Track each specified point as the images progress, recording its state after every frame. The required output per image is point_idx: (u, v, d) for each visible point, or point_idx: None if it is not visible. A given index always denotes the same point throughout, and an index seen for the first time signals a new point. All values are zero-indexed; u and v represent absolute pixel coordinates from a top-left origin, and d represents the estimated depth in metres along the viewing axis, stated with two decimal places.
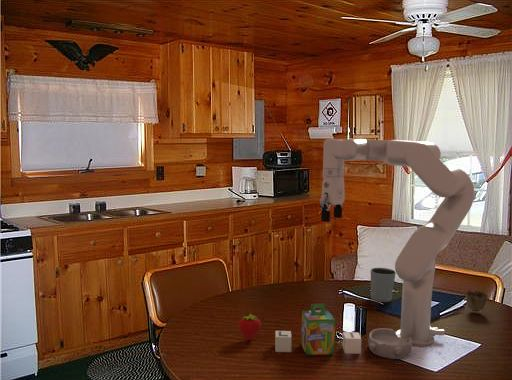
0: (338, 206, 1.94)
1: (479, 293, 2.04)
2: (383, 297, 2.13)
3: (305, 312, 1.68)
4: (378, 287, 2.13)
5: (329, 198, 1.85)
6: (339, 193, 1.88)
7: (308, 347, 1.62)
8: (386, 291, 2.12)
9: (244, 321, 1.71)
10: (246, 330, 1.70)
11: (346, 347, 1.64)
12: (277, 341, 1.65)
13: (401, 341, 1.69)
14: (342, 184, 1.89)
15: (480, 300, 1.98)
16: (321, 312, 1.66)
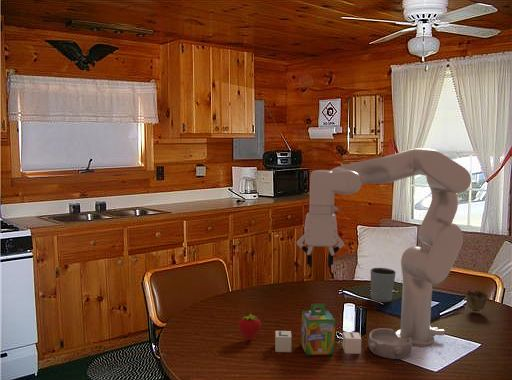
0: None
1: (479, 293, 2.04)
2: (383, 297, 2.13)
3: (305, 312, 1.68)
4: (378, 287, 2.13)
5: None
6: None
7: (308, 347, 1.62)
8: (386, 291, 2.12)
9: (244, 321, 1.71)
10: (246, 330, 1.70)
11: (346, 347, 1.64)
12: (277, 341, 1.65)
13: (401, 341, 1.69)
14: None
15: (480, 300, 1.98)
16: (321, 312, 1.66)
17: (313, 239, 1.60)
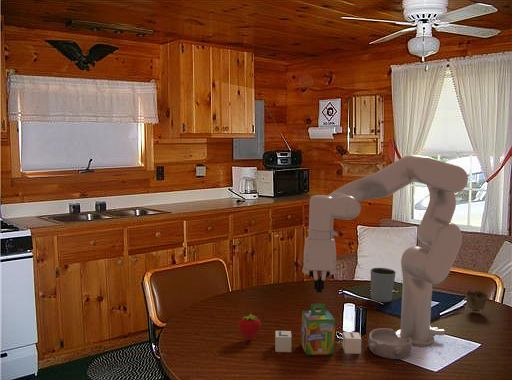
0: None
1: (479, 293, 2.04)
2: (383, 297, 2.13)
3: (305, 312, 1.68)
4: (378, 287, 2.13)
5: None
6: None
7: (308, 347, 1.62)
8: (386, 291, 2.12)
9: (244, 321, 1.71)
10: (246, 330, 1.70)
11: (346, 347, 1.64)
12: (277, 341, 1.65)
13: (401, 341, 1.69)
14: None
15: (480, 300, 1.98)
16: (321, 312, 1.66)
17: (312, 264, 1.61)
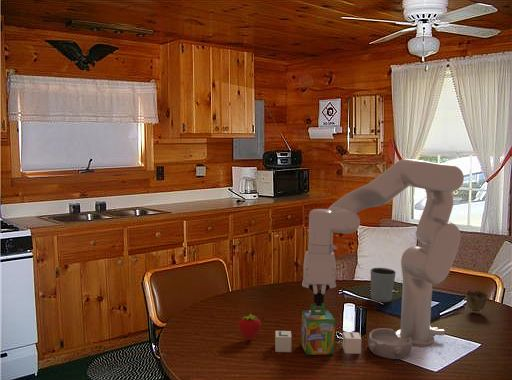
0: None
1: (479, 293, 2.04)
2: (383, 297, 2.13)
3: (305, 312, 1.68)
4: (378, 287, 2.13)
5: None
6: None
7: (308, 347, 1.62)
8: (386, 291, 2.12)
9: (244, 321, 1.71)
10: (246, 330, 1.70)
11: (346, 347, 1.64)
12: (277, 341, 1.65)
13: (401, 341, 1.69)
14: None
15: (480, 300, 1.98)
16: (321, 312, 1.66)
17: (312, 278, 1.62)
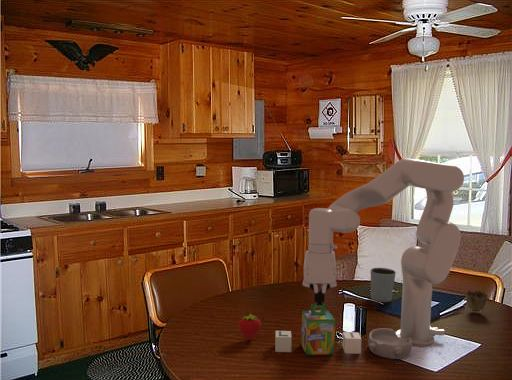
0: None
1: (479, 293, 2.04)
2: (383, 297, 2.13)
3: (305, 312, 1.68)
4: (378, 287, 2.13)
5: None
6: None
7: (308, 347, 1.62)
8: (386, 291, 2.12)
9: (244, 321, 1.71)
10: (246, 330, 1.70)
11: (346, 347, 1.64)
12: (277, 341, 1.65)
13: (401, 341, 1.69)
14: None
15: (480, 300, 1.98)
16: (321, 312, 1.66)
17: (313, 277, 1.62)
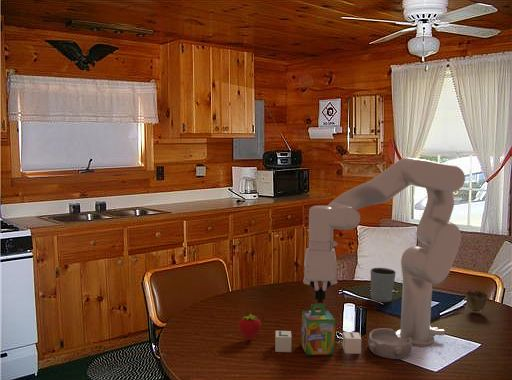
0: None
1: (479, 293, 2.04)
2: (383, 297, 2.13)
3: (305, 312, 1.68)
4: (378, 287, 2.13)
5: None
6: None
7: (308, 347, 1.62)
8: (386, 291, 2.12)
9: (244, 321, 1.71)
10: (246, 330, 1.70)
11: (346, 347, 1.64)
12: (277, 341, 1.65)
13: (401, 341, 1.69)
14: None
15: (480, 300, 1.98)
16: (321, 312, 1.66)
17: (313, 274, 1.62)
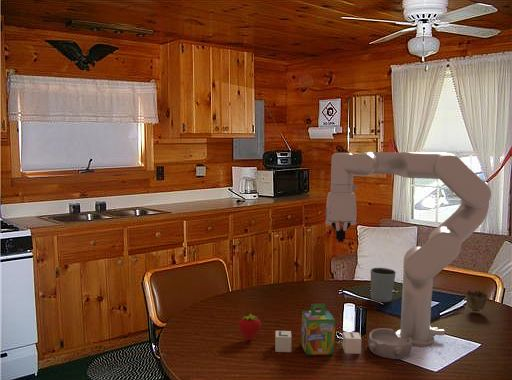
0: None
1: (479, 293, 2.04)
2: (383, 297, 2.13)
3: (305, 312, 1.68)
4: (378, 287, 2.13)
5: None
6: None
7: (308, 347, 1.62)
8: (386, 291, 2.12)
9: (244, 321, 1.71)
10: (246, 330, 1.70)
11: (346, 347, 1.64)
12: (277, 341, 1.65)
13: (401, 341, 1.69)
14: None
15: (480, 300, 1.98)
16: (321, 312, 1.66)
17: (335, 215, 1.77)
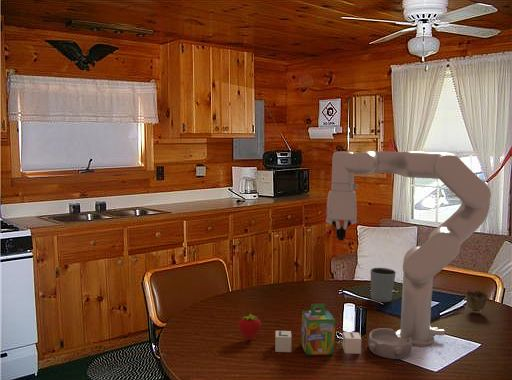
0: None
1: (479, 293, 2.04)
2: (383, 297, 2.13)
3: (305, 312, 1.68)
4: (378, 287, 2.13)
5: None
6: None
7: (308, 347, 1.62)
8: (386, 291, 2.12)
9: (244, 321, 1.71)
10: (246, 330, 1.70)
11: (346, 347, 1.64)
12: (277, 341, 1.65)
13: (401, 341, 1.69)
14: None
15: (480, 300, 1.98)
16: (321, 312, 1.66)
17: (335, 214, 1.78)
